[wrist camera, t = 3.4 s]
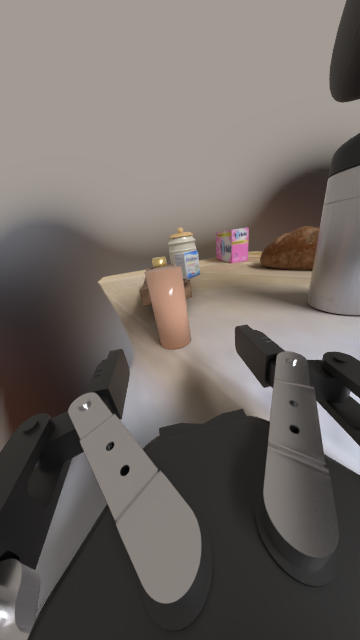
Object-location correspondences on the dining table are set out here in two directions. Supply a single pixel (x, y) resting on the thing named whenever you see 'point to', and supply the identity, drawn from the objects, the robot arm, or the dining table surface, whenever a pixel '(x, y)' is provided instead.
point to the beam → (146, 295)
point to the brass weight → (159, 262)
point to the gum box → (232, 245)
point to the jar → (180, 244)
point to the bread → (292, 250)
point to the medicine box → (188, 263)
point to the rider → (169, 306)
